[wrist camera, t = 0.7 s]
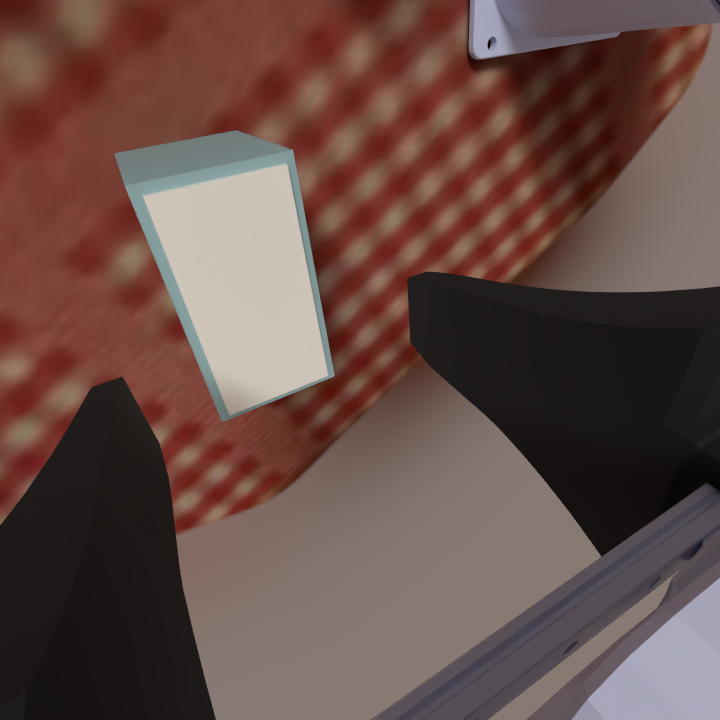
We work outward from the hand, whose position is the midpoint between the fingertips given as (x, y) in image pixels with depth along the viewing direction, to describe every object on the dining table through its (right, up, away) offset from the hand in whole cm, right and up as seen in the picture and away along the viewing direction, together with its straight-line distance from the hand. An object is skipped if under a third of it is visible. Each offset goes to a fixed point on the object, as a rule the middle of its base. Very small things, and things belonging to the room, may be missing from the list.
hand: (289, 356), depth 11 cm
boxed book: (-4, +5, +8) cm, 10 cm away
